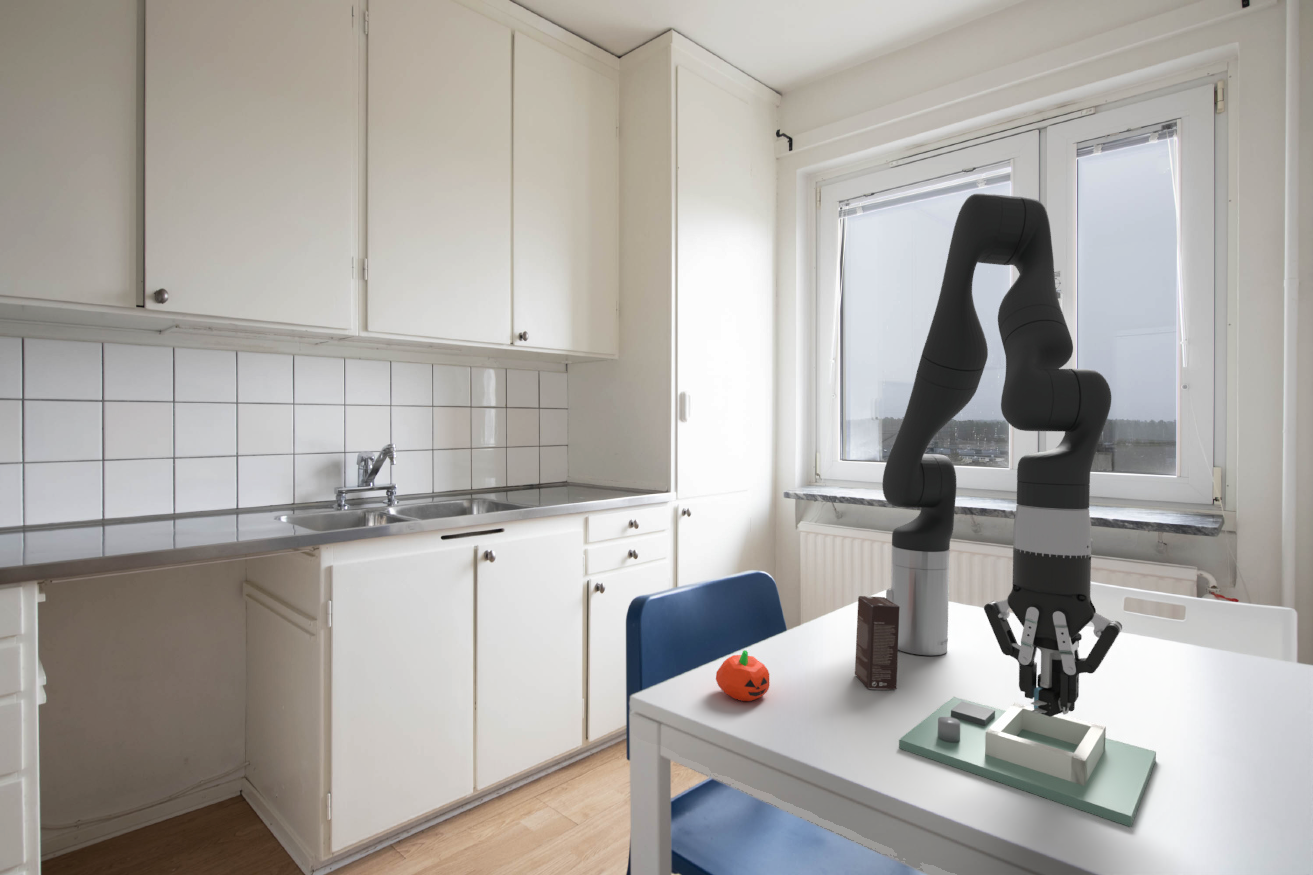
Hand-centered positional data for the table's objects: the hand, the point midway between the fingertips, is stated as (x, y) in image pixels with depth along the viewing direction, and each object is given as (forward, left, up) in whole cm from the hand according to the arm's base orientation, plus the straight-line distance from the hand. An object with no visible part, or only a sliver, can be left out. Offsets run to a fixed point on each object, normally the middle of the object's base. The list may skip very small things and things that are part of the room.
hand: (1048, 700), depth 75 cm
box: (-24, +9, -7) cm, 27 cm away
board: (-2, 0, -7) cm, 7 cm away
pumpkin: (-35, -9, -7) cm, 37 cm away
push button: (0, +1, -2) cm, 2 cm away
